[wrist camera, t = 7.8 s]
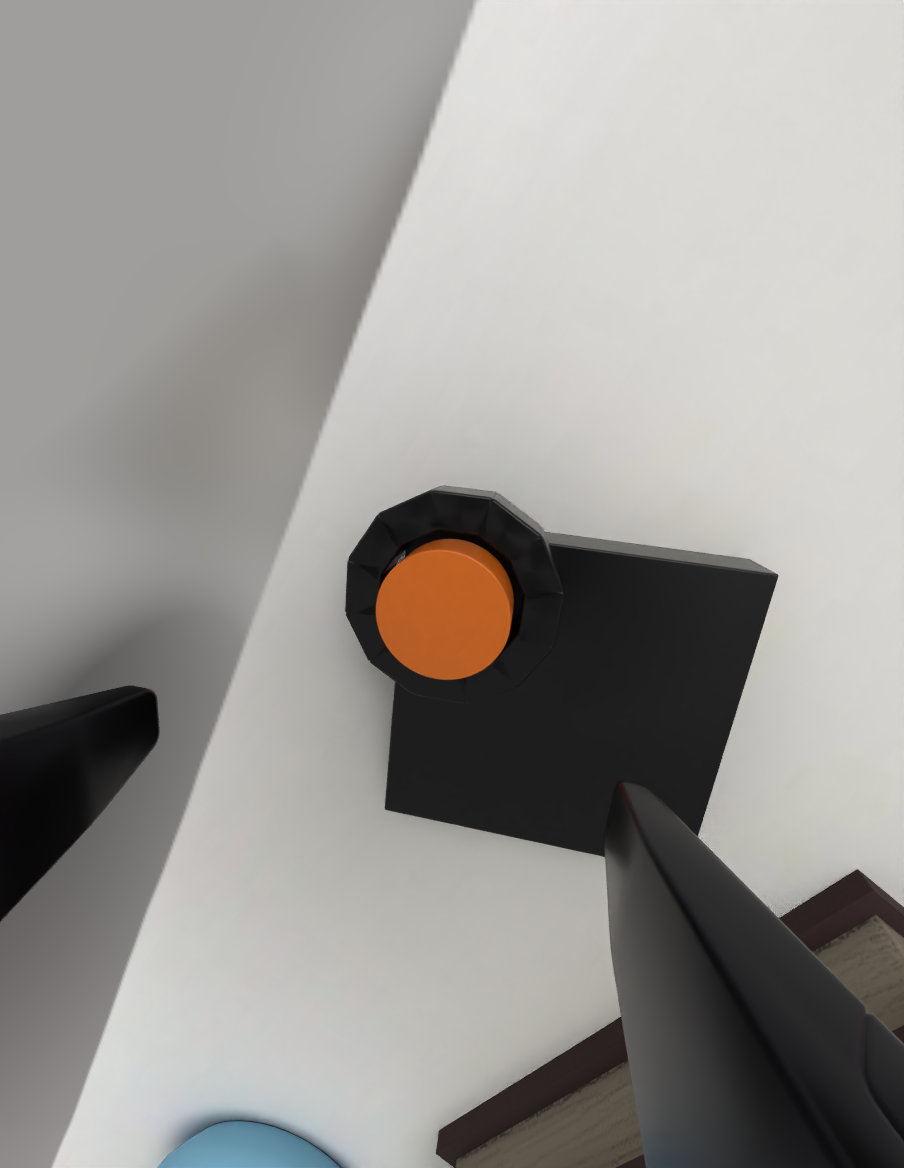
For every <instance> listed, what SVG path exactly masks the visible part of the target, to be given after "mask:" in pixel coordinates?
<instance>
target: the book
mask: <svg viewBox="0 0 904 1168" xmlns="http://www.w3.org/2000/svg"><path fill="white" fill-rule="evenodd" d="M780 920H781V921H782V922H783V923H784V924H785V925H786V926H787V927H788V928H789V929H790V930H791V931H792V932H793V933H794V934H795V935H796V936H797V937H798V938H799V939H800V940H801V941H802V942H803V943H804V944H805V945H806V946H807V947H808V948H809V949H810V950H811V951H812V952H813V953H814V954H815V955H816V956H817V957H818V958H819V959H820V960H821V961H822V962H823V963H824V964H825V965H826V966H827V967H828V968H829V969H830V970H831V971H832V972H833V973H834V974H835V975H836V976H837V978H838V979H839V980H840V981H841V982H842V983H843V984H844V985H845V986H846V987H847V988H848V989H849V990H850V991H851V992H852V993H853V994H854V995H855V996H856V997H857V998H858V999H859V1000H860V1001H861V1002H862V1003H863V1004H864V1005H865V1006H866V1009H867V1014H868V1013H873V1014H874V1015H876V1016H877V1017H878V1018H879V1019H880V1020H881V1021H882V1022H883V1023H884V1024H885V1025H886V1026H887V1027H888V1028H889V1029H890V1030H891V1031H892V1032H893V1034H894V1035H895V1036H896V1037H897V1038H898V1039H899V1040H900V1041H901V1042H902V1043H903V1044H904V907H903V906H901V905H900V904H899V903H898V902H897V901H895V900H894V899H893V898H892V897H891V896H889V895H888V894H887V893H886V892H885V891H883V890H882V889H881V888H880V887H878V886H877V885H876V884H875V883H874V882H872V881H871V880H870V879H869V878H868V877H866V876H865V875H864V874H863V873H862V872H860V871H859V870H857V871H855V872H853V873H852V874H850V875H849V876H847V877H845V878H844V879H842V880H841V881H839V882H837V883H836V884H834V885H833V886H831V887H829V888H828V889H826V890H825V891H823V892H821V893H820V894H818V895H817V896H815V897H813V898H812V899H810V900H809V901H807V902H805V903H804V904H802V905H801V906H799V907H797V908H796V909H794V910H793V911H791V912H789V913H788V914H786V915H785V916H783V917H781V918H780ZM436 1154H437V1155H438V1156H440V1157H441V1158H442V1159H444V1160H445V1161H446V1162H448V1163H449V1164H450V1165H452V1166H453V1167H454V1168H646V1164H645V1158H644V1152H643V1146H642V1140H641V1134H640V1128H639V1122H638V1115H637V1109H636V1103H635V1097H634V1091H633V1085H632V1079H631V1073H630V1067H629V1060H628V1054H627V1048H626V1042H625V1036H624V1030H623V1024H622V1018H619V1019H618V1020H616V1021H615V1022H613V1023H611V1024H610V1025H608V1026H607V1027H605V1028H603V1029H602V1030H600V1031H599V1032H597V1033H595V1034H594V1035H592V1036H591V1037H589V1038H587V1039H586V1040H584V1041H583V1042H581V1043H579V1044H578V1045H576V1046H575V1047H573V1048H571V1049H570V1050H568V1051H567V1052H565V1053H563V1054H562V1055H560V1056H559V1057H557V1058H555V1059H554V1060H552V1061H551V1062H549V1063H547V1064H546V1065H544V1066H543V1067H541V1068H539V1069H538V1070H536V1071H535V1072H533V1073H531V1074H530V1075H528V1076H527V1077H525V1078H523V1079H522V1080H520V1081H518V1082H517V1083H515V1084H514V1085H512V1086H510V1087H509V1088H507V1089H506V1090H504V1091H502V1092H501V1093H499V1094H498V1095H496V1096H494V1097H493V1098H491V1099H490V1100H488V1101H486V1102H485V1103H483V1104H482V1105H480V1106H478V1107H477V1108H475V1109H474V1110H472V1111H470V1112H469V1113H467V1114H466V1115H464V1116H462V1117H461V1118H459V1119H458V1120H456V1121H454V1122H453V1123H451V1124H450V1125H448V1126H446V1127H445V1128H443V1129H442V1130H440V1131H439V1136H438V1143H437V1150H436Z"/></svg>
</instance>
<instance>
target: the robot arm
mask: <svg viewBox="0 0 904 1168" xmlns="http://www.w3.org/2000/svg"><path fill="white" fill-rule="evenodd" d="M159 734H160V727H159V714H158V701H157V696H156V694H155V692H154V691H153V690H151V689H147V688H142V687H136V686H124V687H120V688H116V689H111V690H107V691H102V692H98V693H94V694H89V695H85V696H80V697H77V698H72V699H68V700H63V701H59V702H55V703H50V704H45V705H41V706H37V707H33V708H28V709H23V710H19V711H15V712H10V713H6V714H2V715H0V922H1V921H2V920H3V919H4V918H5V917H6V916H7V915H8V914H9V913H10V912H11V911H12V910H13V908H14V907H15V906H16V905H17V904H18V903H19V902H20V901H21V900H22V899H23V898H24V897H25V896H26V895H27V894H28V893H29V892H30V890H31V889H32V888H33V887H34V886H35V885H36V884H37V883H38V882H39V881H40V880H41V879H42V878H43V876H45V874H46V873H47V872H48V871H49V870H50V869H51V868H52V867H53V866H54V865H55V864H56V863H57V862H58V861H59V860H60V859H61V858H62V856H63V855H64V854H65V853H66V852H67V851H68V850H69V849H70V848H71V847H72V846H73V845H74V844H75V843H76V842H77V841H78V840H79V839H80V837H81V836H82V835H83V834H84V833H85V832H86V831H87V830H88V829H89V827H90V826H91V825H92V824H93V823H94V822H95V820H96V819H97V818H98V817H99V816H100V814H101V813H102V812H103V811H104V810H105V808H106V807H107V806H108V805H109V803H110V802H111V801H112V800H113V798H114V797H115V795H116V794H117V793H118V792H119V791H120V789H121V788H122V787H123V786H124V784H125V783H126V782H127V781H128V779H129V778H130V777H131V776H132V774H133V773H134V772H135V771H136V770H137V768H138V767H139V766H140V765H141V763H142V762H143V761H144V760H145V758H146V757H147V756H148V755H149V753H150V752H151V751H152V750H153V748H154V747H155V745H156V743H157V741H158V738H159ZM604 842H605V861H606V878H607V896H608V914H609V931H610V944H611V954H612V961H613V969H614V975H615V981H616V987H617V993H618V999H619V1005H620V1012H621V1018H622V1024H623V1030H624V1036H625V1042H626V1048H627V1054H628V1060H629V1067H630V1073H631V1079H632V1085H633V1091H634V1097H635V1103H636V1109H637V1115H638V1122H639V1128H640V1134H641V1140H642V1146H643V1152H644V1158H645V1164H646V1168H904V1044H903V1043H902V1042H901V1041H900V1040H899V1039H898V1038H897V1037H896V1036H895V1035H894V1034H893V1032H892V1031H891V1030H890V1029H889V1028H888V1027H887V1026H886V1025H885V1024H884V1023H883V1022H882V1021H881V1020H880V1019H879V1018H878V1017H877V1016H876V1015H874V1014H873V1013H868V1014H867V1009H866V1006H865V1005H864V1004H863V1003H862V1002H861V1001H860V1000H859V999H858V998H857V997H856V996H855V995H854V994H853V993H852V992H851V991H850V990H849V989H848V988H847V987H846V986H845V985H844V984H843V983H842V982H841V981H840V980H839V979H838V978H837V976H836V975H835V974H834V973H833V972H832V971H831V970H830V969H829V968H828V967H827V966H826V965H825V964H824V963H823V962H822V961H821V960H820V959H819V958H818V957H817V956H816V955H815V954H814V953H813V952H812V951H811V950H810V949H809V948H808V947H807V946H806V945H805V944H804V943H803V942H802V941H801V940H800V939H799V938H798V937H797V936H796V935H795V934H794V933H793V932H792V931H791V930H790V929H789V928H788V927H787V926H786V925H785V924H784V923H783V922H782V921H781V920H780V919H779V918H778V917H777V916H776V915H775V914H774V913H773V912H772V911H771V910H770V909H769V908H768V907H767V906H766V905H765V904H764V903H763V902H762V901H761V900H760V899H759V898H758V897H757V896H756V895H755V894H754V893H753V892H752V891H751V890H750V889H749V888H748V887H747V886H746V885H745V884H744V883H743V882H742V881H741V880H740V879H739V878H738V877H737V876H736V875H735V874H734V873H733V872H732V871H731V870H730V869H729V868H728V867H727V866H726V865H725V864H724V863H723V862H722V861H721V860H720V859H719V858H718V857H717V856H716V855H715V854H714V853H713V852H712V851H711V850H710V849H709V848H708V847H707V846H706V845H705V844H704V843H703V842H702V841H701V840H700V839H699V838H698V837H697V836H696V835H695V834H694V833H693V832H692V831H691V830H690V829H689V828H688V827H687V826H686V825H685V824H684V823H683V822H682V821H681V820H680V819H679V818H678V817H677V816H676V815H675V814H674V813H673V812H672V811H671V809H670V808H669V807H668V806H667V805H666V804H665V803H664V802H663V801H662V800H661V799H660V798H659V797H658V796H657V795H656V794H655V793H654V792H653V791H652V790H651V789H650V788H648V787H647V786H646V785H643V784H638V783H633V782H627V781H619V782H618V783H617V784H616V786H615V788H614V792H613V796H612V800H611V804H610V809H609V813H608V817H607V821H606V826H605V837H604Z"/></svg>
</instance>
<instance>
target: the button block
mask: <svg viewBox="0 0 904 1168" xmlns="http://www.w3.org/2000/svg"><path fill="white" fill-rule="evenodd" d="M440 539H459V540H464V541H468V542H471V543H474V544H476V545H478V546H480V547H482V548H483V549H485V550H486V551H488V552H489V553H491V554H492V555H493V556H494V557H495V558H496V559H497V560H498V561H499V562H500V563H501V565H502V566H503V568H504V569H505V571H506V573H507V575H508V577H509V579H510V582H511V585H512V589H513V594H514V607H513V615H512V622H511V628H510V633H509V637H508V640H507V642H506V645H505V646H504V648H503V650H502V652H501V653H500V654H499V656H498V657H497V658H496V659H495V660H494V661H493V662H492V663H491V664H490V665H489V666H488V667H486V668H485V669H483V670H482V671H480V672H478V673H476V674H474V675H471V676H469V677H465V678H461V679H454V680H442V679H434V678H430V677H426V676H423V675H421V674H418V673H416V672H414V671H412V670H411V669H409V668H408V667H406V666H405V665H403V664H402V663H401V662H400V661H399V660H397V659H396V657H395V656H394V655H393V654H392V653H391V652H390V650H389V649H388V648H387V646H386V644H385V643H384V641H383V639H382V637H381V634H380V632H379V628H378V625H377V619H376V602H377V597H378V593H379V590H380V587H381V585H382V583H383V581H384V579H385V578H386V576H387V575H388V574H389V572H390V571H391V570H392V569H393V568H394V567H395V566H396V565H397V561H398V560H399V559H400V557H401V556H402V555H403V553H404V552H405V550H406V553H405V557H406V556H408V555H409V554H410V553H411V552H412V551H414V550H415V549H417V548H418V547H420V546H422V545H424V544H426V543H429V542H432V541H435V540H440ZM777 579H778V574H776V573H774V572H772V571H770V570H769V569H767V568H765V567H763V566H761V565H759V564H757V563H756V562H754V561H752V560H750V559H744V558H737V557H729V556H722V555H714V554H707V553H699V552H692V551H684V550H677V549H669V548H662V547H654V546H647V545H639V544H632V543H625V542H617V541H610V540H602V539H595V538H587V537H580V536H572V535H565V534H557V533H550V532H544V530H543V528H542V527H541V526H540V525H539V524H538V523H537V522H535V521H534V520H533V519H532V518H530V517H529V516H528V515H526V514H525V513H524V512H522V511H521V510H520V509H519V508H517V507H516V506H515V505H513V504H512V503H511V502H509V501H508V500H507V499H506V498H504V497H503V496H502V495H500V494H498V493H496V492H492V491H484V490H476V489H468V488H460V487H452V486H445V485H444V486H439V487H437V488H434V489H432V490H430V491H427V492H425V493H423V494H421V495H418V496H416V497H414V498H412V499H409V500H407V501H405V502H403V503H400V504H398V505H396V506H394V507H391V508H389V509H387V510H385V511H382V512H380V513H379V514H378V515H377V516H376V518H375V519H374V521H373V522H372V524H371V525H370V526H369V528H368V529H367V531H366V532H365V534H364V535H363V537H362V538H361V540H360V541H359V543H358V544H357V546H356V547H355V549H354V550H353V552H352V553H351V555H350V556H349V560H348V563H347V584H346V606H345V612H346V616H347V618H348V620H349V622H350V624H351V626H352V628H353V630H354V632H355V634H356V636H357V638H358V640H359V642H360V644H361V646H362V648H363V650H364V653H365V655H366V657H367V659H368V660H369V661H370V662H371V664H373V665H374V666H375V667H377V668H378V669H379V670H381V671H382V672H383V673H385V674H386V675H388V676H389V677H390V678H392V679H393V680H394V681H395V688H394V701H393V713H392V725H391V737H390V750H389V762H388V774H387V786H386V799H385V810H389V811H394V812H398V813H403V814H408V815H412V816H417V817H422V818H426V819H431V820H436V821H440V822H445V823H450V824H454V825H459V826H464V827H468V828H473V829H478V830H482V831H487V832H492V833H496V834H501V835H506V836H510V837H515V838H520V839H524V840H529V841H534V842H538V843H543V844H548V845H552V846H557V847H562V848H566V849H571V850H576V851H580V852H585V853H590V854H594V855H599V856H603V857H605V842H604V837H605V826H606V821H607V817H608V813H609V809H610V804H611V800H612V796H613V792H614V788H615V786H616V784H617V783H618V782H619V781H627V782H633V783H638V784H643V785H646V786H647V787H648V788H650V789H651V790H652V791H653V792H654V793H655V794H656V795H657V796H658V797H659V798H660V799H661V800H662V801H663V802H664V803H665V804H666V805H667V806H668V807H669V808H670V809H671V811H672V812H673V813H674V814H675V815H676V816H677V817H678V818H679V819H680V820H681V821H682V822H683V823H684V824H685V825H686V826H687V827H688V828H689V829H690V830H691V831H692V832H693V833H694V834H695V835H696V836H697V837H698V834H699V830H700V827H701V824H702V821H703V817H704V814H705V811H706V808H707V805H708V801H709V798H710V795H711V792H712V788H713V785H714V782H715V779H716V775H717V772H718V769H719V766H720V763H721V759H722V756H723V753H724V750H725V746H726V743H727V740H728V737H729V734H730V730H731V727H732V724H733V721H734V717H735V714H736V711H737V708H738V704H739V701H740V698H741V695H742V692H743V688H744V685H745V682H746V679H747V675H748V672H749V669H750V666H751V663H752V659H753V656H754V653H755V650H756V646H757V643H758V640H759V637H760V634H761V630H762V627H763V624H764V621H765V617H766V614H767V611H768V608H769V604H770V601H771V598H772V595H773V592H774V588H775V585H776V582H777Z"/></svg>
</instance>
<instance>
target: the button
mask: <svg viewBox="0 0 904 1168" xmlns="http://www.w3.org/2000/svg"><path fill="white" fill-rule="evenodd" d="M513 607H514V594H513V589H512V585H511V582H510V579H509V577H508V575H507V573H506V571H505V569H504V568H503V566H502V565H501V563H500V562H499V561H498V560H497V559H496V558H495V557H494V556H493V555H492V554H491V553H489V552H488V551H486V550H485V549H483V548H482V547H480V546H478V545H476V544H474V543H471V542H468V541H464V540H459V539H440V540H435V541H432V542H429V543H426V544H424V545H422V546H420V547H418V548H417V549H415V550H414V551H412V552H411V553H410V554H409V555H408V556H406V557H405V558H404V559H403V560H402V561H401V562H399V563H398V564H397V565H396V566H395V567H394V568H393V569H392V570H391V571H390V572H389V574H388V575H387V576H386V578H385V579H384V581H383V583H382V585H381V587H380V590H379V593H378V597H377V602H376V619H377V625H378V628H379V632H380V634H381V637H382V639H383V641H384V643H385V644H386V646H387V648H388V649H389V650H390V652H391V653H392V654H393V655H394V656H395V657H396V659H397V660H399V661H400V662H401V663H402V664H403V665H405V666H406V667H408V668H409V669H411V670H412V671H414V672H416V673H418V674H421V675H423V676H426V677H430V678H434V679H442V680H454V679H461V678H465V677H469V676H471V675H474V674H476V673H478V672H480V671H482V670H483V669H485V668H486V667H488V666H489V665H490V664H491V663H492V662H493V661H494V660H495V659H496V658H497V657H498V656H499V654H500V653H501V652H502V650H503V648H504V646H505V645H506V642H507V640H508V637H509V633H510V628H511V622H512V615H513Z"/></svg>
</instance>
